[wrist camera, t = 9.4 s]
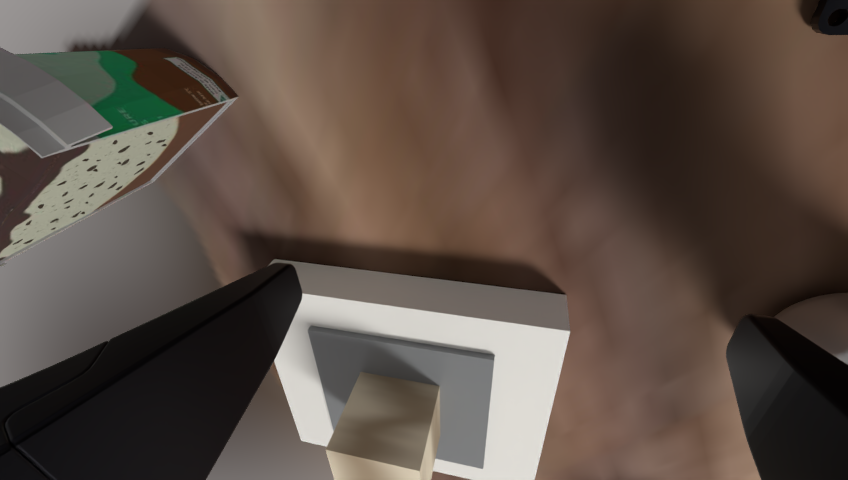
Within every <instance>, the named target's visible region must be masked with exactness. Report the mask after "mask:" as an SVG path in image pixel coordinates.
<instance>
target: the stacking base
mask: <svg viewBox="0 0 848 480" xmlns="http://www.w3.org/2000/svg"><path fill="white" fill-rule="evenodd" d="M273 263H288V264H292V265H293V266H294V267H295V269H296V272H297V275H298V278H299V282H300V285H301V288H302V300H301V303H300V305H299V308H298V310H297V312H296V314H295V316H294V319H293V321H292V323H291V325H290V328H289V330H288V332H287V334H286V337H285V339H284V341H283V343H282V346H281V348H280V350H279V352H278V354H277V356H276V358H275V360H274V362H275V365H276V368H277V371H278V374H279V376H280V379H281V382H282V385H283V388H284V391H285V394H286V397H287V400H288V403H289V406H290V409H291V412H292V415H293V417H294V420H295V423H296V426H297V429H298V432H299V435H300V438H301V441H304V442H309V443H313V444H317V445H322V446H326V447H327V445H328V443H329V441H330V439H331V437H332V434H333V432H334V430H335V428H336V425H337V423H338V421H339V419H340V417H341V414H342V412H343V410H344V408H345V405H346V403H347V401H348V399H349V397H350V394H351V392H352V390H353V388H354V385H355V383H356V381H357V379H358V377H359V374H360V372H364V373H370V374H375V375H381V376H387V377H392V378H398V379H403V380H409V381H414V382H420V383H425V384H431V385H437V386H440V438H439V443H438V448H437V453H436V458H435V463H434V467H433V471H436V472H441V473H445V474H450V475H454V476H458V477H463V478H467V479H472V480H535V476H536V471H537V467H538V463H539V459H540V455H541V451H542V446H543V442H544V438H545V434H546V430H547V426H548V422H549V417H550V413H551V409H552V405H553V401H554V397H555V392H556V388H557V384H558V380H559V376H560V372H561V367H562V363H563V359H564V355H565V351H566V347H567V342H568V338H569V334H570V325H569V316H568V306H567V297H566V295H563V294H555V293H547V292H539V291H531V290H523V289H515V288H506V287H498V286H490V285H482V284H474V283H466V282H458V281H450V280H442V279H433V278H425V277H417V276H409V275H401V274H393V273H385V272H377V271H369V270H360V269H352V268H344V267H336V266H328V265H320V264H312V263H304V262H295V261H287V260H279V259H274V260H273V261H272V262H271V263H270V264H269V265H271V264H273ZM269 265H268V266H269Z"/></svg>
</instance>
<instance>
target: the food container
mask: <svg viewBox="0 0 848 480" xmlns="http://www.w3.org/2000/svg"><path fill="white" fill-rule="evenodd" d="M238 97H239V96H238V95H237V94H236V93H235V92H234V91H233V90H232V89H231V88H230V87H229V85H228V84H227V83H226V82H225V81H224V80H223V79H222V78H221V77H220V76H218V75H217V74H215V73H214V72H212V71H211V70H210V69H208V68H207V67H205V66H204V65H202V64H201V63H200V62H198V61H197V60H195V59H194V58H192V57H189V56H186V55H183V54H180V53H178V52H175V51H172V50H169V49H166V48H153V49H126V50H103V51H81V52H59V53H38V54H16V55H14V54H12V53H10V52H8V51H6V50H4V49H2V48H0V267H2V266H4V265H5V264H6V263H5V262H6V261H8V260H10V259H11V258H13V257H15V256H17V255H19V254H21V253H23V252H24V251H26V250H28V249H30V248H32V247H34V246H36V245H37V244H39V243H41V242H43V241H45V240H47V239H49V238H50V237H52V236H54V235H56V234H58V233H60V232H62V231H63V230H65V229H67V228H69V227H71V226H73V225H75V224H76V223H78V222H80V221H82V220H84V219H86V218H87V217H89V216H91V215H93V214H95V213H97V212H99V211H101V210H102V209H104V208H106V207H108V206H110V205H112V204H114V203H115V202H117V201H119V200H121V199H123V198H125V197H127V196H128V195H130V194H132V193H134V192H136V191H138V190H140V189H141V188H143V187H145V186H147V185H149V184H151V183H153V182H154V181H155V180H156V179H157V178H158V177H159V176H160V175H161V174H162V173H163V172H164V171H165V170H166V169H167V168H168V167H169V166H170V165H171V164H172V163H173V162H174V161H175V160H176V159H177V158H178V157H179V156H180V155H181V154H182V153H183V152H184V151H185V150H186V149H187V148H188V147H189V146H190V145H191V144H192V143H193V142H194V141H195V140H196V139H197V138H198V137H199V136H200V135H201V134H202V133H203V132H204V131H205V130H206V129H207V128H208V127H209V126H210V125H211V124H212V123H213V122H214V121H215V120H216V119H217V118H218V117H219V116H220V115H221V114H222V113H223V112H224V111H225V110H226V109H227V108H228V107H229V106H230V105H231V104H232V103H233V102H234V101H235V100H236V99H237V98H238Z"/></svg>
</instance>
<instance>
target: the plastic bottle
mask: <svg viewBox="0 0 848 480" xmlns="http://www.w3.org/2000/svg"><path fill="white" fill-rule="evenodd" d="M774 317H775V318H777V319H779V320H780V321H782V322H783V323H785V324H786V325H788V326H789V327H791V328H792V329H794V330H795V331H797V332H799V333H800V334H802V335H803V336H805V337H806V338H808V339H809V340H811V341H812V342H814V343H815V344H817V345H818V346H820V347H821V348H823V349H824V350H826V351H827V352H829V353H831V354H832V355H834V356H835V357H837V358H838V359H840V360H841V361H843V362H844V363H846V364H847V365H848V293H834V294H827V295H821V296H817V297H813V298H809V299H806V300H803V301H801V302H798V303H796V304H793V305H791V306H790V307H788V308H786V309H784V310H782V311H781V312H780V313H778V314H777V315H776V316H774Z"/></svg>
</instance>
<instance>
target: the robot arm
mask: <svg viewBox="0 0 848 480" xmlns="http://www.w3.org/2000/svg"><path fill="white" fill-rule="evenodd" d="M837 9H839V11H840V17H839V18H838V19H837V21H836V22H834V23H833V24H831V25H829V24H828V17H829V16H830V15H831V13H833V12H834V11H835V10H837ZM811 26H812V29H813V30H814V31H815V32H816V33H821V34H827V35H848V0H820V1H819V3H818V6H817V8H816V10H815V13H814V15H813V17H812V21H811ZM301 300H302V288H301V285H300V282H299V278H298V275H297V272H296V269H295V267H294V266H293V265H292V264H288V263H273V264H271V265H269V266H267V267H265V268H262V269H260V270H258V271H256V272H254V273H252V274H250V275H247V276H245V277H243V278H241V279H239V280H237V281H235V282H232V283H230V284H228V285H226V286H224V287H222V288H219V289H217V290H215V291H213V292H211V293H209V294H207V295H204V296H202V297H200V298H198V299H196V300H194V301H191V302H190V303H187V304H185V305H183V306H181V307H179V308H176V309H174V310H173V311H170V312H168V313H166V314H164V315H161V316H159V317H157V318H155V319H153V320H151V321H149V322H146V323H144V324H142V325H140V326H138V327H136V328H134V329H132V330H129V331H127V332H125V333H123V334H121V335H119V336H116V337H114V338H112V339H111V340H110V341H109V342H108V341H106V342H103V343H101V344H99V345H97V346H95V347H93V348H90V349H88V350H86V351H84V352H82V353H80V354H77V355H75V356H73V357H70V358H68V359H66V360H64V361H62V362H59V363H57V364H55V365H53V366H50V367H48V368H46V369H43V370H41V371H39V372H36V373H34V374H31V375H29V376H27V377H24V378H22V379H20V380H17V381H15V382H13V383H10V384H8V385H5V386H3V387H0V480H206V478H207V477H208V475H209V473H210V471H211V470H212V468H213V466H214V465H215V463H216V461H217V459H218V457H219V456H220V454H221V452H222V451H223V449H224V447H225V445H226V443H227V442H228V440H229V438H230V437H231V435H232V433H233V431H234V430H235V428H236V426H237V425H238V423H239V421H240V419H241V418H242V416H243V414H244V412H245V411H246V409H247V407H248V405H249V404H250V402H251V400H252V399H253V397H254V395H255V393H256V392H257V390H258V388H259V386H260V385H261V383H262V381H263V379H264V378H265V376H266V374H267V372H268V371H269V369H270V367H271V365H272V364H273V362H274V360H275V358H276V356H277V354H278V352H279V350H280V348H281V346H282V343H283V341H284V339H285V337H286V334H287V332H288V330H289V328H290V325H291V323H292V321H293V319H294V316H295V314H296V312H297V310H298V308H299V305H300V303H301ZM726 358H727V362H728V367H729V371H730V375H731V379H732V383H733V387H734V391H735V395H736V399H737V403H738V407H739V412H740V416H741V420H742V424H743V428H744V431H745V435H746V438H747V442H748V445H749V447H750V450H751V453H752V456H753V459H754V461H755V464H756V467H757V469H758V472H759V475H760V477H761V480H848V365H847V364H846V363H844V362H843V361H841V360H840V359H838V358H837V357H835V356H834V355H832V354H831V353H829V352H827V351H826V350H824V349H823V348H821V347H820V346H818V345H817V344H815V343H814V342H812V341H811V340H809V339H808V338H806V337H805V336H803V335H802V334H800V333H799V332H797V331H795V330H794V329H792V328H791V327H789V326H788V325H786V324H785V323H783V322H782V321H780V320H779V319H777V318H775V317H771V316H763V315H754V314H748V315H745V316H743V317H742V318H741V320H740V322H739V324H738V326H737V328H736V329H735V331H734V333H733V335H732V337H731V339H730V341H729V343H728V346H727V350H726Z"/></svg>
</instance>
